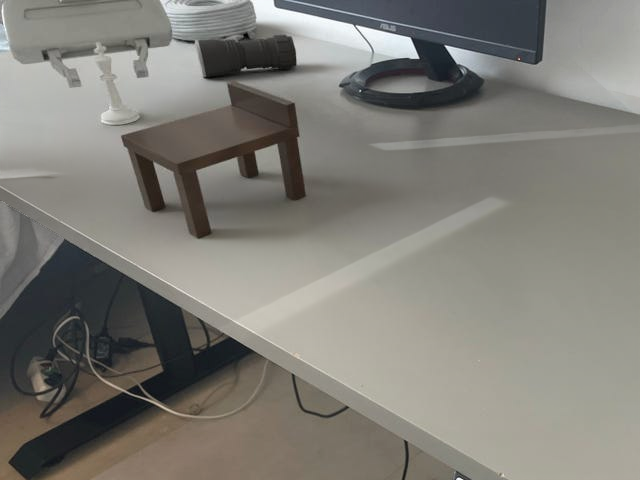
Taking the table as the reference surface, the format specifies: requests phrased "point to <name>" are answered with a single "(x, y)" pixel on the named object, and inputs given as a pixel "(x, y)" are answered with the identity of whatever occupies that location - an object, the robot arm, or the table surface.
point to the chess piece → (113, 93)
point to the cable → (211, 19)
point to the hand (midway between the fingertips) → (109, 80)
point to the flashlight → (245, 55)
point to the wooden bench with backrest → (216, 149)
